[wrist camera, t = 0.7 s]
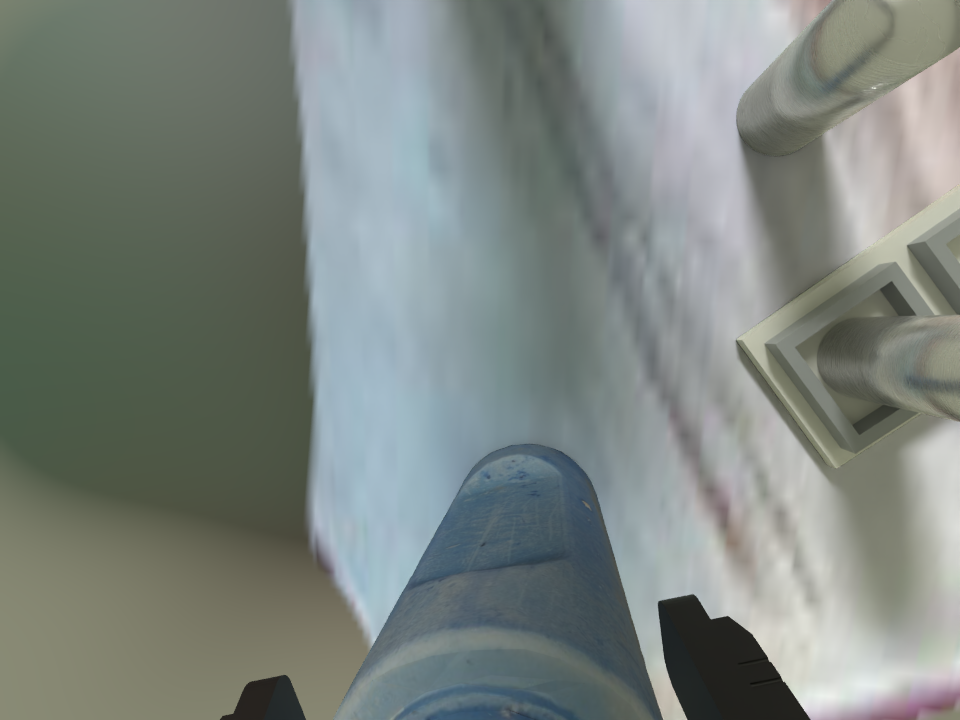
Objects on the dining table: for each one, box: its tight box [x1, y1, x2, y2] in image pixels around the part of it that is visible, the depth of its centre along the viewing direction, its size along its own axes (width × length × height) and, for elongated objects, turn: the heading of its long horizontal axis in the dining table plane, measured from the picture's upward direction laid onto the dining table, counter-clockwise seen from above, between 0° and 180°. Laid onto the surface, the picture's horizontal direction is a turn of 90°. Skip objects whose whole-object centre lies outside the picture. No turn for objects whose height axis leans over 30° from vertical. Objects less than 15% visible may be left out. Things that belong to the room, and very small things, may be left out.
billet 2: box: [817, 315, 960, 422], centre depth 27 cm, size 5×5×12 cm
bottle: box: [333, 444, 663, 720], centre depth 21 cm, size 10×10×30 cm
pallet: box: [736, 184, 960, 469], centre depth 32 cm, size 20×10×2 cm, turn 126°
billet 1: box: [736, 0, 960, 156], centre depth 27 cm, size 5×5×12 cm
